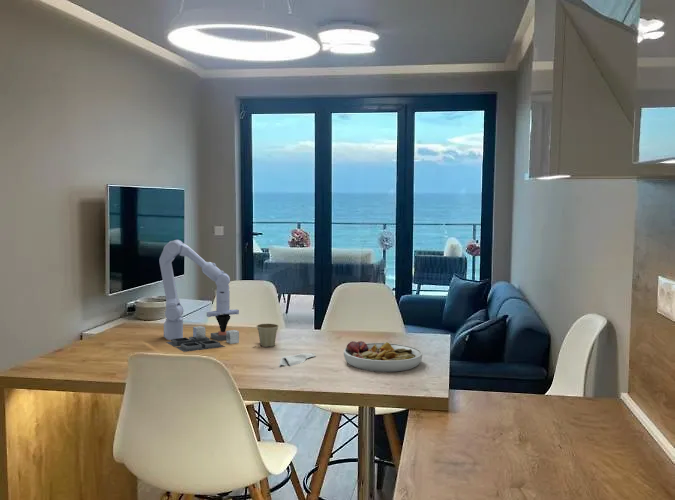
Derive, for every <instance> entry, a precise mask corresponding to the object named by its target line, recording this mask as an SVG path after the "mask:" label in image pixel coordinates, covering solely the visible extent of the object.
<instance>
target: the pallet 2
mask: <svg viewBox="0 0 675 500" xmlns="http://www.w3.org/2000/svg"><path fill="white" fill-rule="evenodd" d="M225 347H226V346H225V345H224V344H223V345H222V344H221V342H220V341H217V340H215V339H210V340H209V341H201V342H199V343H197V342H192V343H184V344H181V346H177V347H175V349H178V350H179V351H180V352H183V353H187V352H195V351H204V350H211V349H218V348H225Z"/></svg>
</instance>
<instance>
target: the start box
mask: <svg viewBox="0 0 675 500" xmlns="http://www.w3.org/2000/svg"><path fill="white" fill-rule="evenodd" d="M210 339H211V340H215V341H217V342H222V341H223V342H224V341H226V335H218V332H210Z"/></svg>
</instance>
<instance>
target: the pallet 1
mask: <svg viewBox="0 0 675 500" xmlns="http://www.w3.org/2000/svg"><path fill="white" fill-rule="evenodd" d="M209 340H211V338H210V337H207V336H206V335H205V338H204V339H194V338H193V336H189V337H186V336H185V337H183V338H176V339H171V340H170V341H165V343H166V344H168V345H170V346H172V347H174V348H176V347H180V346H181V344H184V343H192V342H197V343H199V342H201V341H209Z"/></svg>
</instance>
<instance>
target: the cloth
mask: <svg viewBox="0 0 675 500" xmlns="http://www.w3.org/2000/svg"><path fill="white" fill-rule="evenodd" d="M314 357H315V358H316V353H314V352H313V353H312V352H309V353H308V352H307V353H303V352H301V353H298V354H293V355H285V356H282V357H281V358H280V361H279V365H278V368H280V367H281V366H283V367H284V366H285V367H286V366H290V367H292V366H296V365H300V364H302V363H304V362H305V361H307V359H311V358H314Z"/></svg>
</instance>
